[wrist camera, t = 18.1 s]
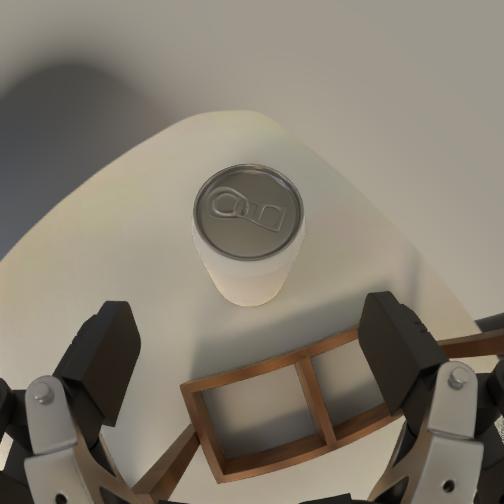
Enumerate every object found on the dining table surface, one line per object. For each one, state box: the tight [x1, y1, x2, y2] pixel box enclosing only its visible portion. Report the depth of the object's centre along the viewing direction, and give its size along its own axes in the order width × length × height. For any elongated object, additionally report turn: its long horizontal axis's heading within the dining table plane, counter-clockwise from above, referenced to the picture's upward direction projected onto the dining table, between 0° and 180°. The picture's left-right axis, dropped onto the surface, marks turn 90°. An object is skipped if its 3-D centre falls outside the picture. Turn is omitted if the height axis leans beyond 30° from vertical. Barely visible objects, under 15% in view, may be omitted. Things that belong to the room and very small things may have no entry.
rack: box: [131, 325, 504, 504], centre depth 15 cm, size 22×9×14 cm, turn 107°
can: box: [191, 164, 306, 307], centre depth 19 cm, size 6×6×12 cm
